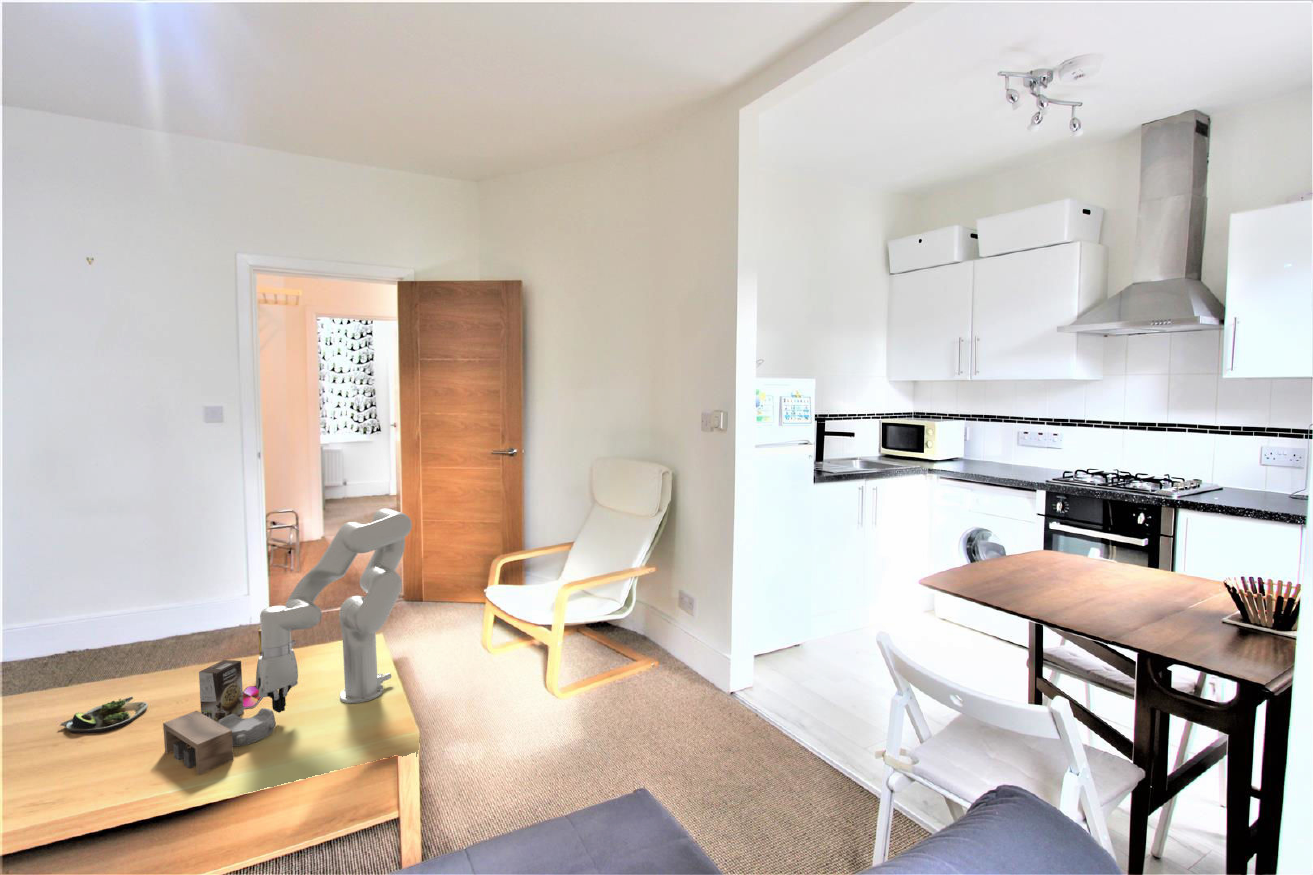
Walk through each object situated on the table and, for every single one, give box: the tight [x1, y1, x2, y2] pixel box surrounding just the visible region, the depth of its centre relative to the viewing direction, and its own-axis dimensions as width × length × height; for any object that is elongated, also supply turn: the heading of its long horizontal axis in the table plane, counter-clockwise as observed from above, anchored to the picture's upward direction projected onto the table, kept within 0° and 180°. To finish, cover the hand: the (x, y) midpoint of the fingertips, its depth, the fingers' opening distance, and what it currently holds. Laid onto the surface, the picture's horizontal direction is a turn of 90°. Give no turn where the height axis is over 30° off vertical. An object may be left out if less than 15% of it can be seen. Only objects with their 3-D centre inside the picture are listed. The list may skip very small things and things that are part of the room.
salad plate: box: [59, 696, 149, 735], centre depth 196 cm, size 19×18×5 cm
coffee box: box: [198, 659, 245, 722], centre depth 194 cm, size 9×6×16 cm
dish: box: [218, 707, 277, 747], centre depth 185 cm, size 14×14×5 cm
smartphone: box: [243, 685, 263, 710], centre depth 207 cm, size 7×1×15 cm
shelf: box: [162, 710, 234, 776], centre depth 175 cm, size 8×20×8 cm, turn 57°
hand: (279, 710), depth 192 cm, fingers closed
